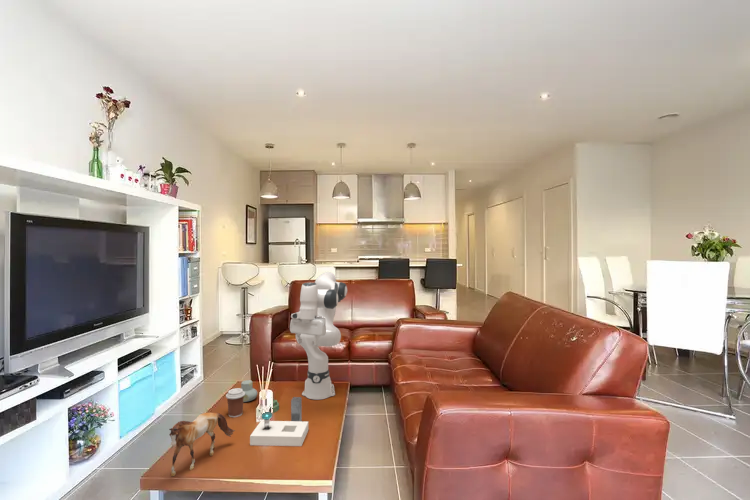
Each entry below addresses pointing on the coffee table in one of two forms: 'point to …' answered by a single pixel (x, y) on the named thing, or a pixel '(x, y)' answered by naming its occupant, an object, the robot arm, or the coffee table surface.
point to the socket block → (280, 433)
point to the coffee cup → (235, 402)
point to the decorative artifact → (275, 406)
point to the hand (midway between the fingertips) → (307, 343)
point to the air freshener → (248, 390)
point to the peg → (296, 409)
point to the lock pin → (266, 419)
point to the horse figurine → (196, 433)
